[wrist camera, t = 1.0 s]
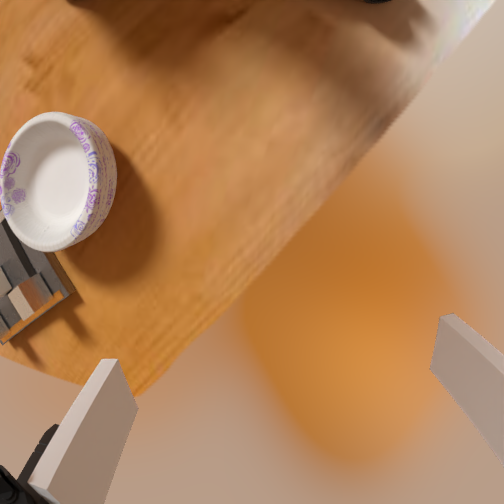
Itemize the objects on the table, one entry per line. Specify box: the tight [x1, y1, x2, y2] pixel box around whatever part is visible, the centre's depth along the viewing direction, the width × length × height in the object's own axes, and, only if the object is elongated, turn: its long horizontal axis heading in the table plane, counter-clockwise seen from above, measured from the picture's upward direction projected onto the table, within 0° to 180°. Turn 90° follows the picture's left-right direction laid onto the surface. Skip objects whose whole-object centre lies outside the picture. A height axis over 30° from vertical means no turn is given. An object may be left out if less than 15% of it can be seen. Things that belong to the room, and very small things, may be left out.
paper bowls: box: [0, 112, 117, 252], centre depth 29 cm, size 15×15×8 cm
